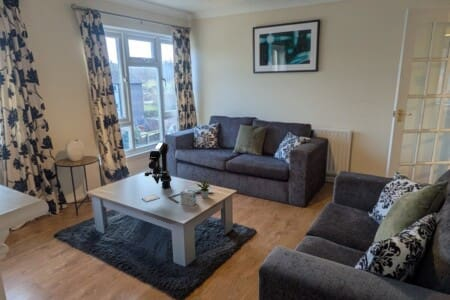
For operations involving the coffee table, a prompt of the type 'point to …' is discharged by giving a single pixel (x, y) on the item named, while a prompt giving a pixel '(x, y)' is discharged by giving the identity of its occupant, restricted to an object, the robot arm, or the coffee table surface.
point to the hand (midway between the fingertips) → (157, 183)
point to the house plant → (204, 188)
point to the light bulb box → (188, 197)
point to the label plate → (150, 198)
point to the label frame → (174, 199)
